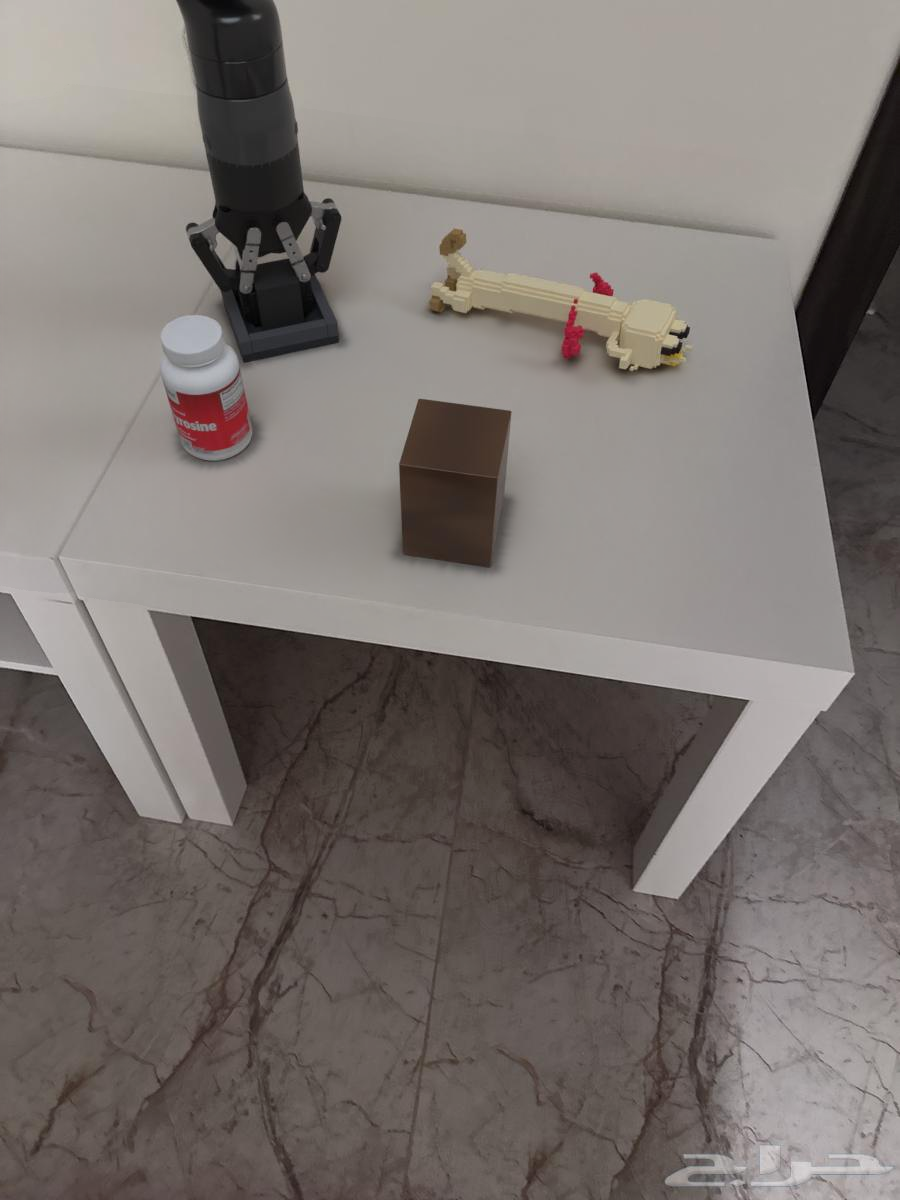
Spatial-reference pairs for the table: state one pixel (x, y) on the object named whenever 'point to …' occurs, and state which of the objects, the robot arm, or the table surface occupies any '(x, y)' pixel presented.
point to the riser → (453, 481)
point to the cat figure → (566, 309)
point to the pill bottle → (204, 388)
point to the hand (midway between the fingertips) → (278, 314)
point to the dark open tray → (282, 328)
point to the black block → (278, 295)
